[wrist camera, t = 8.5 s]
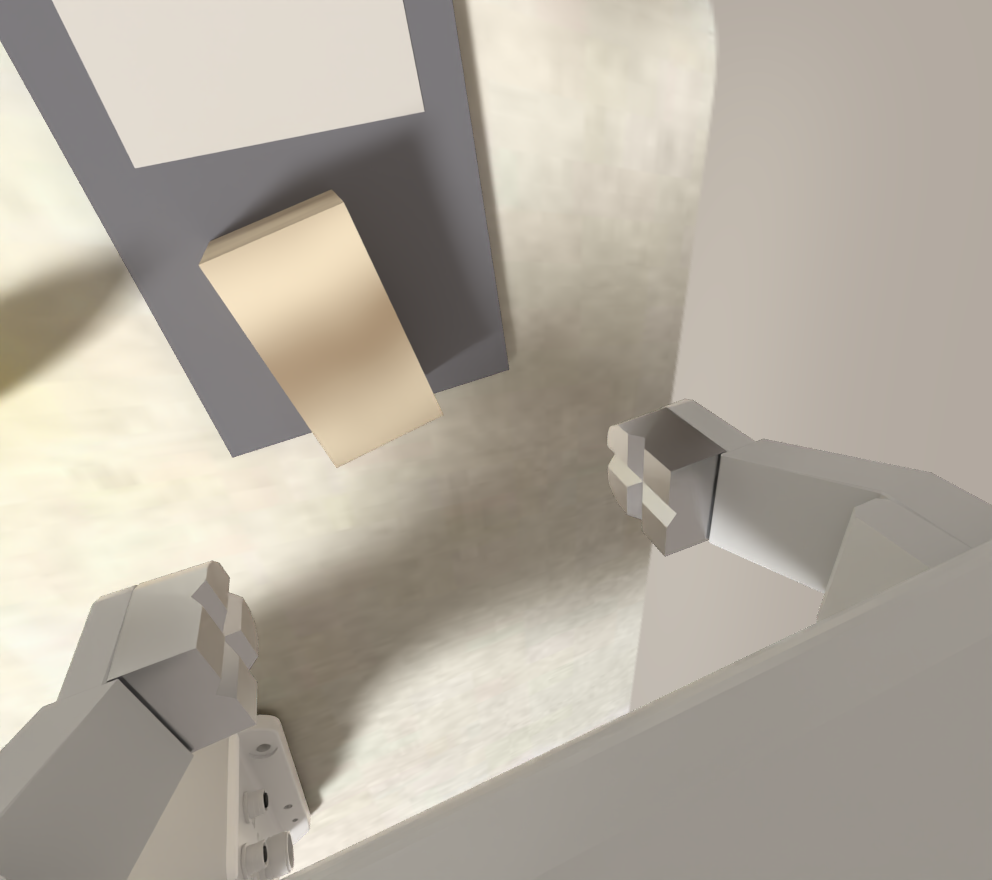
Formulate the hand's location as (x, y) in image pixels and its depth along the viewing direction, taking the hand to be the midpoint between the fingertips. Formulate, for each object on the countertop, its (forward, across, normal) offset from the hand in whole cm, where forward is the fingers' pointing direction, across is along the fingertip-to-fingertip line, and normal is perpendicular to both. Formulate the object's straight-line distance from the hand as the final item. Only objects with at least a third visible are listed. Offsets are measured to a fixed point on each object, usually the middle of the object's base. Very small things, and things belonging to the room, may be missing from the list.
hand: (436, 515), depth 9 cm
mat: (+17, 0, -3) cm, 18 cm away
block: (+16, +1, +2) cm, 17 cm away
